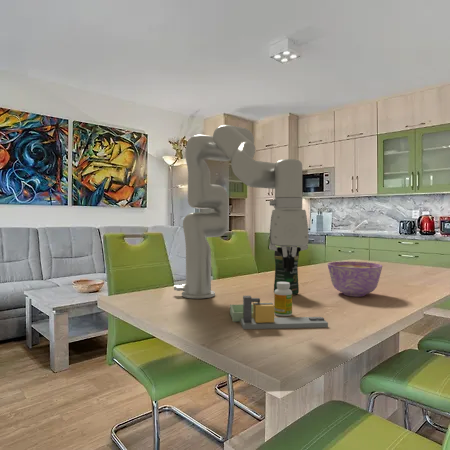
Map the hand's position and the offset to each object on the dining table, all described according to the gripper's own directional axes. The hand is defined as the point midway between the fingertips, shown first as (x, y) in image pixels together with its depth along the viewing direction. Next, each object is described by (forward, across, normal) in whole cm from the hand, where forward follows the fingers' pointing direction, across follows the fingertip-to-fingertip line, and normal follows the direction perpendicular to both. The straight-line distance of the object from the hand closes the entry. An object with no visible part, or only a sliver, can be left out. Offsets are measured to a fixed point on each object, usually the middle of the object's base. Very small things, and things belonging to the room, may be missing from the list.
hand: (288, 270), depth 101 cm
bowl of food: (+15, +35, +38) cm, 53 cm away
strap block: (+13, -7, -1) cm, 15 cm away
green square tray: (+15, -10, +8) cm, 20 cm away
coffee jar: (+15, +9, +39) cm, 43 cm away
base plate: (+15, -2, -1) cm, 15 cm away
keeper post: (+15, -10, -1) cm, 18 cm away
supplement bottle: (+15, +1, +10) cm, 18 cm away
